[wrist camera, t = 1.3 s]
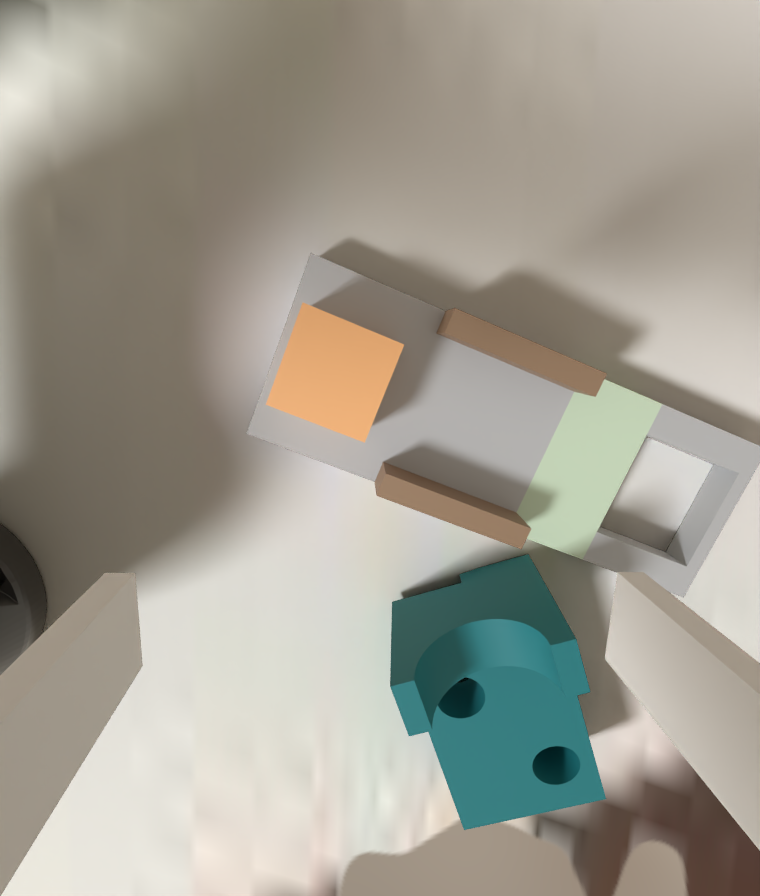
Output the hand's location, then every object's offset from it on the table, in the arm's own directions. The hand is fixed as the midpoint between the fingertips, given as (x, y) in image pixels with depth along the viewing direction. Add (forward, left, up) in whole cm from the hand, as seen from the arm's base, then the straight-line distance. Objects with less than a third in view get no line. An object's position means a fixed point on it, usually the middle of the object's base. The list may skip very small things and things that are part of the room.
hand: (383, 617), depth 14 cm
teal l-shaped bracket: (+16, -14, -23) cm, 31 cm away
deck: (+8, +4, -23) cm, 24 cm away
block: (-4, +4, -20) cm, 21 cm away
